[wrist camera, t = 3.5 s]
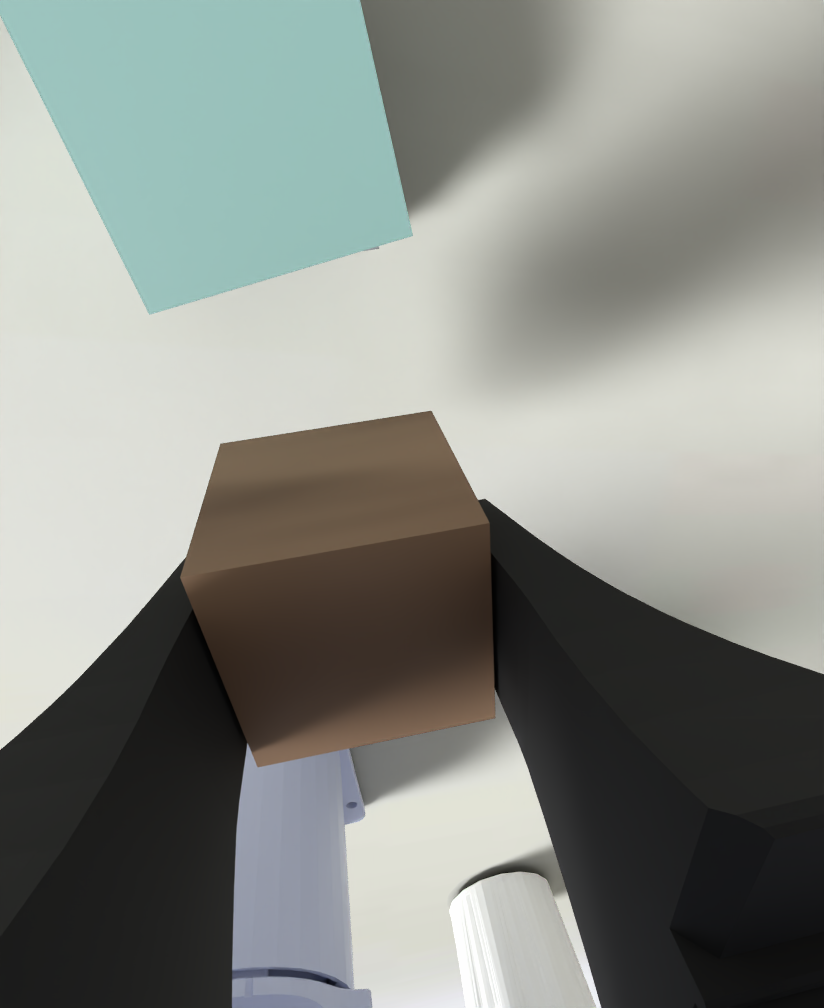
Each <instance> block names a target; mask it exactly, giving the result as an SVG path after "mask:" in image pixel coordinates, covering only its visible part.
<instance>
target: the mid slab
mask: <svg viewBox="0 0 824 1008" xmlns="http://www.w3.org/2000/svg"><path fill="white" fill-rule="evenodd" d="M0 16H1V18H2V20H3V22H4V24H5V26H6V28H7V30H8V32H9V34H10V36H11V38H12V40H13V42H14V44H15V46H16V48H17V50H18V52H19V54H20V56H21V58H22V60H23V62H24V64H25V66H26V68H27V70H28V72H29V74H30V76H31V78H32V80H33V82H34V84H35V86H36V88H37V90H38V92H39V94H40V96H41V98H42V100H43V102H44V104H45V106H46V108H47V110H48V112H49V114H50V116H51V118H52V120H53V122H54V124H55V126H56V128H57V130H58V132H59V134H60V136H61V138H62V140H63V142H64V144H65V146H66V148H67V150H68V152H69V154H70V156H71V158H72V160H73V162H74V164H75V166H76V168H77V170H78V172H79V174H80V176H81V178H82V180H83V182H84V184H85V186H86V188H87V190H88V192H89V195H90V197H91V199H92V201H93V203H94V205H95V207H96V209H97V211H98V213H99V215H100V217H101V219H102V221H103V223H104V225H105V227H106V229H107V231H108V233H109V235H110V237H111V239H112V241H113V243H114V245H115V247H116V249H117V251H118V253H119V255H120V257H121V259H122V261H123V263H124V265H125V267H126V269H127V271H128V273H129V275H130V277H131V279H132V281H133V283H134V285H135V287H136V289H137V291H138V293H139V295H140V297H141V299H142V301H143V303H144V305H145V307H146V309H147V311H148V313H149V315H150V314H153V313H157V312H160V311H163V310H167V309H170V308H173V307H177V306H180V305H183V304H187V303H190V302H193V301H197V300H200V299H203V298H207V297H210V296H213V295H217V294H220V293H223V292H227V291H230V290H233V289H237V288H240V287H243V286H247V285H250V284H253V283H257V282H260V281H263V280H267V279H270V278H274V277H277V276H280V275H284V274H287V273H290V272H294V271H297V270H300V269H304V268H307V267H310V266H314V265H317V264H320V263H324V262H327V261H330V260H334V259H337V258H340V257H344V256H347V255H350V254H354V253H357V252H360V251H364V250H367V249H370V248H374V247H377V246H380V245H384V244H387V243H390V242H394V241H397V240H400V239H404V238H407V237H411V236H413V234H412V230H411V225H410V221H409V216H408V212H407V207H406V203H405V198H404V194H403V189H402V185H401V181H400V176H399V172H398V167H397V163H396V158H395V154H394V149H393V145H392V140H391V136H390V132H389V127H388V123H387V118H386V114H385V109H384V105H383V100H382V96H381V91H380V87H379V83H378V78H377V74H376V69H375V65H374V60H373V56H372V51H371V47H370V42H369V38H368V34H367V29H366V25H365V20H364V16H363V11H362V7H361V2H360V0H0Z"/></svg>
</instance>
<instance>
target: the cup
mask: <svg viewBox="0 0 824 1008" xmlns="http://www.w3.org/2000/svg"><path fill="white" fill-rule="evenodd" d="M449 913H450V915H451V919H452V925H453V930H454V936H455V942H456V948H457V954H458V960H459V966H460V972H461V978H462V985H463V991H464V997H465V1003H466V1008H596V1005H595V1003H594V1000H593V998H592V995H591V992H590V990H589V987H588V985H587V982H586V979H585V977H584V974H583V972H582V969H581V967H580V964H579V961H578V959H577V956H576V954H575V951H574V948H573V946H572V943H571V941H570V938H569V935H568V933H567V930H566V928H565V925H564V922H563V920H562V917H561V915H560V912H559V910H558V907H557V904H556V902H555V899H554V897H553V894H552V891H551V889H550V886H549V884H548V881H547V879H545V878H543V877H541V876H540V875H538V874H535V873H528V872H513V873H504V874H499V875H496V876H493V877H489V878H486V879H483V880H480V881H478V882H477V883H475V884H473V885H471V886H469V887H468V888H466V889H464V890H463V891H462V892H461V893H460V894H459V895H458V896H457V897H456V898H455V899H454V900H453V901H452V904H451V907H450V910H449Z"/></svg>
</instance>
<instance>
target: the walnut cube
mask: <svg viewBox="0 0 824 1008" xmlns="http://www.w3.org/2000/svg"><path fill="white" fill-rule="evenodd" d="M180 578H181V581H182V583H183V586H184V588H185V591H186V593H187V596H188V598H189V600H190V603H191V605H192V608H193V610H194V613H195V615H196V618H197V620H198V623H199V625H200V627H201V630H202V632H203V635H204V637H205V640H206V642H207V645H208V647H209V649H210V652H211V654H212V657H213V659H214V662H215V664H216V667H217V669H218V672H219V674H220V676H221V679H222V681H223V684H224V686H225V689H226V691H227V694H228V696H229V699H230V701H231V703H232V706H233V708H234V711H235V713H236V716H237V718H238V721H239V723H240V725H241V728H242V730H243V733H244V735H245V738H246V740H247V743H248V745H249V748H250V750H251V752H252V755H253V757H254V760H255V762H256V765H257V767H263V766H267V765H272V764H277V763H282V762H287V761H291V760H296V759H301V758H306V757H311V756H315V755H320V754H325V753H330V752H335V751H339V750H344V749H349V748H354V747H359V746H364V745H368V744H373V743H378V742H383V741H388V740H392V739H397V738H402V737H407V736H412V735H416V734H421V733H426V732H431V731H436V730H440V729H445V728H450V727H455V726H460V725H465V724H469V723H474V722H479V721H484V720H489V719H493V718H495V690H494V655H493V621H492V587H491V552H490V523H489V521H488V519H487V517H486V515H485V513H484V511H483V509H482V507H481V505H480V503H479V502H478V500H477V498H476V496H475V494H474V492H473V490H472V488H471V486H470V484H469V482H468V480H467V478H466V477H465V475H464V473H463V471H462V469H461V467H460V465H459V463H458V461H457V459H456V457H455V455H454V453H453V451H452V450H451V448H450V446H449V444H448V442H447V440H446V438H445V436H444V434H443V432H442V430H441V428H440V426H439V425H438V423H437V421H436V419H435V417H434V415H433V413H432V411H427V412H420V413H414V414H408V415H401V416H395V417H389V418H382V419H376V420H369V421H363V422H357V423H350V424H344V425H338V426H331V427H325V428H318V429H312V430H306V431H299V432H293V433H286V434H280V435H274V436H267V437H261V438H255V439H248V440H242V441H235V442H229V443H223V444H220V447H219V451H218V454H217V457H216V460H215V464H214V467H213V470H212V474H211V477H210V480H209V484H208V487H207V490H206V494H205V497H204V500H203V504H202V507H201V510H200V513H199V517H198V520H197V523H196V527H195V530H194V533H193V537H192V540H191V543H190V547H189V550H188V553H187V557H186V560H185V563H184V566H183V570H182V573H181V576H180Z"/></svg>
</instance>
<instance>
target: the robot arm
mask: <svg viewBox="0 0 824 1008" xmlns="http://www.w3.org/2000/svg"><path fill="white" fill-rule="evenodd" d="M478 502H479V503H480V505H481V507H482V509H483V511H484V513H485V515H486V517H487V519H488V521H489V523H490V552H491V587H492V621H493V655H494V688H495V690H496V692H497V695H498V697H499V699H500V701H501V704H502V706H503V708H504V711H505V713H506V715H507V717H508V720H509V722H510V724H511V727H512V729H513V731H514V734H515V736H516V738H517V740H518V743H519V746H520V748H521V751H522V753H523V756H524V758H525V761H526V764H527V766H528V769H529V772H530V775H531V779H532V782H533V785H534V788H535V791H536V794H537V797H538V800H539V803H540V806H541V809H542V812H543V815H544V818H545V822H546V825H547V828H548V831H549V834H550V837H551V841H552V844H553V847H554V850H555V853H556V857H557V860H558V863H559V866H560V869H561V873H562V876H563V879H564V882H565V885H566V889H567V892H568V896H569V899H570V902H571V906H572V909H573V912H574V916H575V919H576V922H577V926H578V929H579V932H580V936H581V939H582V942H583V946H584V949H585V952H586V956H587V959H588V962H589V966H590V969H591V973H592V976H593V980H594V983H595V987H596V990H597V994H598V997H599V1001H600V1004H601V1008H824V674H821V673H818V672H815V671H812V670H809V669H806V668H803V667H800V666H797V665H794V664H791V663H788V662H785V661H782V660H779V659H777V658H774V657H771V656H768V655H765V654H762V653H760V652H757V651H754V650H752V649H749V648H746V647H744V646H741V645H738V644H736V643H733V642H730V641H728V640H726V639H723V638H721V637H718V636H716V635H714V634H711V633H709V632H706V631H704V630H702V629H699V628H697V627H694V626H692V625H690V624H687V623H685V622H683V621H681V620H678V619H676V618H674V617H672V616H670V615H667V614H665V613H663V612H661V611H659V610H657V609H655V608H653V607H651V606H649V605H647V604H645V603H643V602H641V601H639V600H637V599H635V598H633V597H631V596H629V595H627V594H625V593H624V592H622V591H620V590H618V589H616V588H615V587H613V586H611V585H609V584H607V583H606V582H604V581H602V580H601V579H599V578H597V577H596V576H594V575H592V574H591V573H589V572H588V571H586V570H584V569H583V568H581V567H579V566H578V565H576V564H574V563H573V562H571V561H570V560H568V559H567V558H565V557H564V556H562V555H561V554H559V553H558V552H556V551H555V550H553V549H552V548H551V547H549V546H548V545H546V544H545V543H543V542H542V541H541V540H539V539H538V538H536V537H535V536H534V535H532V534H531V533H530V532H528V531H527V530H526V529H524V528H523V527H522V526H520V525H519V524H518V523H516V522H515V521H514V520H512V519H511V518H510V517H508V516H507V515H506V514H505V513H503V512H502V511H501V510H499V509H498V508H497V507H495V506H494V505H493V504H491V503H490V502H489V501H487V500H486V499H482V500H478ZM185 560H186V558H185V559H184V560H183V561H182V563H181V564H180V565H179V566H178V567H177V568H176V570H175V571H174V572H173V573H172V574H171V576H170V577H169V578H168V579H167V580H166V582H165V583H164V584H163V585H162V587H161V588H160V589H159V590H158V591H157V593H156V594H155V595H154V596H153V597H152V598H151V600H150V601H149V602H148V603H147V604H146V605H145V607H144V608H143V609H142V610H141V611H140V612H139V614H138V615H137V616H136V617H135V618H134V619H133V620H132V622H131V623H130V624H129V625H128V626H127V627H126V629H125V630H124V631H123V632H122V633H121V634H120V635H119V636H118V637H117V638H116V639H115V640H114V641H113V643H112V644H111V645H110V646H109V647H108V648H107V649H106V650H105V651H104V652H103V653H102V654H101V655H100V656H99V657H98V658H97V659H96V661H95V662H94V663H93V664H92V665H91V666H90V667H89V668H88V669H87V670H86V671H85V672H84V673H83V674H82V675H81V676H80V677H79V678H78V679H77V680H76V681H75V682H74V683H73V684H72V685H71V686H70V687H69V688H68V689H67V690H66V691H65V692H64V693H63V694H62V695H61V696H60V697H59V698H58V699H57V700H56V701H55V702H54V703H53V704H52V705H51V706H49V707H48V708H47V709H46V710H45V711H44V712H43V713H42V714H41V715H39V716H38V717H37V718H36V719H35V720H34V721H33V722H32V723H31V724H29V725H28V726H27V727H26V728H25V729H24V730H23V731H22V732H21V733H19V734H18V735H17V736H16V737H15V738H14V739H13V740H11V741H10V742H9V743H8V744H7V745H6V746H4V747H3V748H2V749H1V750H0V1008H372V998H371V991H370V990H369V989H354V977H353V952H352V936H351V920H350V903H349V887H348V871H347V854H346V838H345V824H350V823H354V822H358V821H360V820H362V819H363V818H364V817H365V807H364V803H363V799H362V796H361V792H360V788H359V784H358V780H357V776H356V772H355V769H354V765H353V761H352V757H351V753H350V749H344V750H339V751H335V752H330V753H325V754H320V755H315V756H311V757H306V758H301V759H296V760H291V761H287V762H282V763H277V764H272V765H267V766H263V767H257V765H256V762H255V760H254V757H253V755H252V752H251V750H250V748H249V745H248V743H247V740H246V738H245V735H244V733H243V730H242V728H241V725H240V723H239V721H238V718H237V716H236V713H235V711H234V708H233V706H232V703H231V701H230V699H229V696H228V694H227V691H226V689H225V686H224V684H223V681H222V679H221V676H220V674H219V672H218V669H217V667H216V664H215V662H214V659H213V657H212V654H211V652H210V649H209V647H208V645H207V642H206V640H205V637H204V635H203V632H202V630H201V627H200V625H199V623H198V620H197V618H196V615H195V613H194V610H193V608H192V605H191V603H190V600H189V598H188V596H187V593H186V591H185V588H184V586H183V583H182V581H181V578H180V576H181V573H182V570H183V566H184V563H185Z"/></svg>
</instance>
